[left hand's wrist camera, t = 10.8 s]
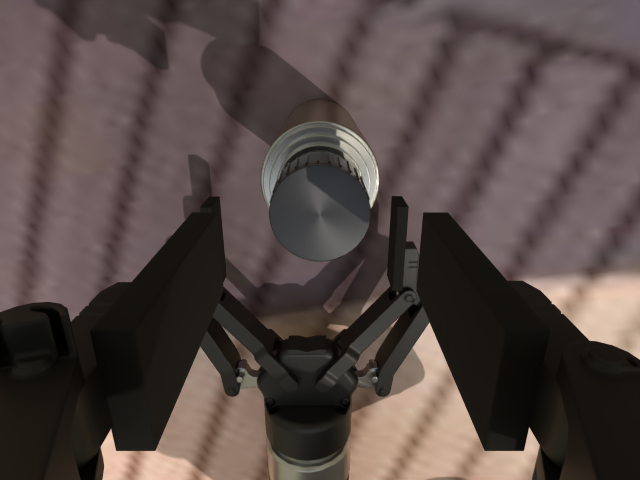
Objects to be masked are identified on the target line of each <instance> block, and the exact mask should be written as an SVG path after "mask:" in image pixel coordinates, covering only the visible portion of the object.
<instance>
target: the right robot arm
mask: <svg viewBox="0 0 640 480" xmlns="http://www.w3.org/2000/svg"><path fill="white" fill-rule="evenodd" d="M200 209H201V213H217V222H218V233H219V244H220V256H221V267H222V278H223V282H224V280H225V277H226V265H225V253H224V242H223V231H222V219H221V208H220V197H209V198H208V199H207V200H206V201H205V203H204V204H203V205H202V206H201V207H200ZM407 221H408V205H407V204H406V202H405V201H404V199H403V197H402V196H392V201H391V218H390V235H389V252H388V269H387V276H388V279H389V282H390V285H391V286H390V287H389V288H388V289H387V290H386V291H385V292H384V293H383V294H382V295H381V296H380V297H379V298H378V299H377V300H376V301H375V302H374V303H373V304H372V305H371V306H370V307H369V308H368V309H367V310H366V311H365V312H364V313H363V314H362V315H361V316H360V317H359V318H358V319H357V320H356V321H355V322H354V323H353V324H352V325H351V326H350V327H349V328H348V329H344V330H342V331H341V332H340V333H339V334H338V335H337V336H336V337H335V338H334V339H333V340H330V339H327V338H326V336H313V337H309V338H306V337H302V336H289V338H288V339H285V340H282V339H281V338H280V337H279V336H278V335H277V334H276V333H275V332H274V331H273V330H272V329H267V328H266V327H265V326H264V325H263V324H262V323H261V322H260V321H259V320H258V319H257V318H256V317H255V316H253V315H252V314H251V313H250V312H249V311H248V310H247V309H246V308H245V307H244V306H243V305H242V304H241V303H240V302H239V301H238V300H237V299H236V298H235V297H234V296H233V295H232V294H231V293H229V292H228V291H227V290H226V289H225V288H224V287H223V289H224V291H223V294H222V296H221V298H220V301H219V303H218V305H217V308H216V310H215V312H214V315H213V317H212V319H211V322H210V324H209V326H208V329H207V331H206V333H205V336H204V338H203V340H202V343H201V345H200V346H201V348H202V349H203V351H204V352H205V353H206V355H207V356H208V358H209V359H210V361H211V362H212V363H213V365H214V366H215V368H216V369H217V370H218V372H219V373H220V375H221V378H222V382H223V386H224V390H225V393H226V394H227V395H228V396H232V397H234V396H236V395H238V393H239V391H240V388H250V387H258V388H259V389H260V390H261V392H262V393H263V396H264V405H265V422H266V434H267V454H268V467H269V480H349V470H350V431H351V404H352V394H353V392H354V391H355V389H356V388H357V387H364V388H375V390H376V394H377V395H378V396H381V397H384V396H387V395H388V394H389V393H390V390H391V385H392V381H393V376H394V374H395V372H396V371H397V369H398V368H399V366H400V365H401V363H402V362H403V361H404V359H405V358H406V356H407V355H408V353H409V352H410V350H411V349H412V347H413V346H414V344H415V343H416V341H417V340H418V338H419V337H420V335H421V334H422V333H423V331H424V330H425V328H426V327H427V325H428V324H429V319H428V317H427V315H426V312H425V310H424V308H423V305H422V303H421V301H420V298H419V296H418V294H417V291H416V289H417V272H418V261H419V254H418V251H417V248H416V246H415V244H414V242H406V235H407ZM398 318H399V319H398ZM397 319H398V320H397ZM396 320H397V322H396V323H395V325H394V326H393V328H392V329H391V331H390V333H389V334H388V336H387V337H386V339H385V340H384V342H383V343H382V345H381V346H380V348H379V350H378V352H377V354H376V357H375V360H373V359H371V360H369V363H368V364H367V365H366V367H365V368H364V369H363V370H360V371H357V369H356V367H355V366H354V364H355V363H356V362H357V361H358V359H359V356H360V354H361V353H362V352H363V351H364V350H365V349H366V348H367V347H368V346H369V345H371V344H372V343H373V342H374V341H375V340H376V339H377V338H378V337H379V336H380V335H381V334H382V333H383V332H384V331H385V330H386V329H387V328H388V327H389V326H390V325H391V324H392V323H394V322H395V321H396ZM220 324H221V325H222V326H223V327H224V328H225V329H226V330H228V331H229V332H230V333H231V334H232V335H233V336H234V337H235V338H236V339H237V340H238V341H239V342H241V343H242V344H243V345H244V346H245V347H246V348H247V349H248V350H249V351H250V352H251V353H252V354H253V355H254V357H255V360H256V362H257V363H258V364H259V365H260V366H261V367H260V368H259V370H253V369H251V368H250V366H249V364H248V363H247V360H245V359H242V360H241V357H240V354H239V352H238V350H237V349H236V347H235V346H234V344H233V343H232V341H231V340H230V338H229V337H228V335H227V334H226V332H225V331H224V329H223V328H222V326H221V325H220Z"/></svg>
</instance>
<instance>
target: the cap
mask: <svg viewBox="0 0 640 480" xmlns="http://www.w3.org/2000/svg"><path fill="white" fill-rule="evenodd" d="M272 193H273V194H272V196H271V199H270V202H269V203H270V208H269V218H270V224H271V227H272V230H273V232H274V234H275V236H276V238H277V239H278V241H279V242H280V243H281V244H282V246H283V247H285V248H286V249H287V250H288V251H289V252H291V253H292V254H294V255H296V256H298V257H300V258H303V259H306V260H311V261H329V260H334V259H337V258H340V257H342V256H344V255H346V254H348V253H349V252H351V251H352V250H353V249H354V248H355V247H357V246H358V244H359V243H360V242H361V241H362V239H363V238H364V236H365V234H366V232H367V230H368V227H369V224H370V218H371V207H370V203H369V200H370V198H369V195H368V192H367V190H366V187H365V184H364V181H363V179H362V176H359V174H358V172H357V169H356V168H354V167H353V166H352V165H351V164H350V163H349V161H346V160H344V159H342V158H341V157H340V156H339V155H338V156H336V155H333V154H330V153H329V152H328V153H319V152H317V153H311V154H309V153H307V155H304V156H302V157H297V159H296V160H294V161H293V162H292V163H288V166H287V167H286V168H285V170H284V171H283V170H282V171H281V174H280V177H279V179H277V181H276V183H275V186H274V189H273V191H272Z"/></svg>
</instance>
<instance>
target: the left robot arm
mask: <svg viewBox="0 0 640 480" xmlns="http://www.w3.org/2000/svg"><path fill="white" fill-rule="evenodd" d="M223 291H224V289H223V278H222V267H221V256H220V244H219V233H218V222H217V213H191V215H190V216H189V217H188V218H187V219H186V220H185V221H184V223H183V224H182V225H181V226H180V227H179V228H178V229H177V231H176V232H175V233H174V234H173V235H172V236H171V238H170V239H169V240H168V241H167V242H166V243H165V244H164V246H163V247H162V248H161V249H160V250H159V251H158V252H157V254H156V255H155V256H154V257H153V258H152V259H151V261H150V262H149V263H148V264H147V265H146V266H145V267H144V269H143V270H142V271H141V272H140V273H139V274H138V275H137V277H136V278H135V279H134V280H133V281H132V282H117V283H116V284H114V285H112V286H110V287H108V288H107V289H105V290H103V291H101V292H100V293H99V294H98V295H97V296H96V297H95V298H94V299H93V300H92V301H91V302H90V303H89V306H86V307H85V308H84V309H83V310H82V311H81V312H80V313H79V314H80V315H79V316H76V317H75V318H74V319H73V320H72V321H71V322H70V317H69V313H68V309H67V308H66V307H65V306H63V305H62V304H58V303H52V302H40V303H31V304H26V305H21V306H17V307H14V308H11V309H8V310H5V311H3V312H0V480H102V478H103V471H104V462H103V456H102V452H101V445H102V443H103V442H104V440H105V438H106V436H107V435H108V433H109V431H110V429H112V434H113V438H114V443H115V447H116V451H155V450H156V448H157V446H158V443H159V441H160V439H161V436H162V434H163V432H164V429H165V427H166V425H167V422H168V420H169V418H170V415H171V413H172V411H173V408H174V406H175V404H176V401H177V399H178V397H179V394H180V392H181V389H182V387H183V385H184V382H185V380H186V378H187V375H188V373H189V371H190V368H191V366H192V364H193V361H194V359H195V357H196V354H197V352H198V350H199V347H200V345H201V343H202V340H203V338H204V336H205V333H206V331H207V329H208V326H209V324H210V322H211V319H212V317H213V315H214V312H215V310H216V308H217V305H218V303H219V301H220V298H221V296H222V294H223ZM416 291H417V294H418V296H419V298H420V301H421V303H422V305H423V308H424V310H425V312H426V315H427V317H428V319H429V322H430V324H431V326H432V329H433V331H434V333H435V336H436V338H437V340H438V343H439V345H440V347H441V350H442V352H443V354H444V357H445V359H446V361H447V364H448V366H449V368H450V371H451V373H452V375H453V378H454V380H455V382H456V385H457V387H458V389H459V392H460V394H461V397H462V399H463V401H464V404H465V406H466V408H467V411H468V413H469V415H470V418H471V420H472V422H473V425H474V427H475V429H476V432H477V434H478V436H479V439H480V441H481V443H482V446H483V448H484V450H485V451H524V447H525V443H526V438H527V434H528V429H529V427H530V429H531V431H532V432H533V434H534V436H535V438H536V439H537V441H538V443H539V444H540V447H539V452H538V456H537V460H536V464H535V468H534V473H533V477H532V480H640V360H639V359H638V358H636V357H635V356H633V355H632V354H630V353H629V352H627V351H624V350H622V349H620V348H617V347H615V346H612V345H609V344H605V343H601V342H597V341H589V340H588V339H587V338H586V337H585V336H584V335H583V334H582V333H581V332H580V331H579V330H578V329H577V328H576V326H575V325H574V324H573V323H572V322H571V321H570V320H569V319H568V318H567V317H566V316H565V315H564V314H561V311H560V310H559V309H558V308H557V307H556V306H555V305H554V304H552V302H551V301H550V300H549V299H548V298H547V297H546V296H545V295H544V294H543V293H542V292H541V291H540V290H538V289H537V288H535V287H533V286H531V285H529V284H527V283H526V282H524V281H507V280H506V279H505V278H504V277H503V275H502V274H501V273H500V272H499V271H498V270H497V269H496V267H495V266H494V265H493V264H492V263H491V262H490V261H489V259H488V258H487V257H486V256H485V255H484V254H483V252H482V251H481V250H480V249H479V248H478V247H477V246H476V244H475V243H474V242H473V241H472V240H471V239H470V238H469V236H468V235H467V234H466V233H465V232H464V231H463V229H462V228H461V227H460V226H459V225H458V224H457V223H456V221H455V220H454V219H453V218H452V217H451V216H450V215H449V213H423V222H422V233H421V244H420V256H419V267H418V278H417V289H416Z"/></svg>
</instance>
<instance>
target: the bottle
mask: <svg viewBox="0 0 640 480" xmlns="http://www.w3.org/2000/svg"><path fill="white" fill-rule="evenodd" d="M317 152H319V153H328V152H329V153H330V154H333V155H336V156H338V155H339V156H340V157H341V158H342V159H344V160H346V161H349V163H350V164H351V165H352V166H353V167H354V168H356V169H357V172H358V174H359V176H362V179H363V181H364V184H365V187H366V190H367V192H368V195H369V198H370V200H369V203H370V207H371V208H372V206H373V204H374V202H375V200H376V197H377V194H378V189H379V179H380V178H379V169H378V164H377V161H376V158H375V155H374V154H373V152H372V150H371V148H370V146H369V145H368V143H367V141H366V140H365V138H364V137H363V135H362V133H361V132H360V130H359V128H358V127H357V125H356V124H355V122H354V120H353V119H352V117H351V116H350V114H349V113H348V112H347V111H346V110H345V109H344V108H343V107H342V106H340V105H339V104H337V103H335V102H333V101H329V100H324V99H316V100H311V101H307V102H305V103H303V104H301V105H299V106H298V107H297V108H296V109H295V110H294V111H293V112H292V113H291V114H290V116H289V117H288V119H287V120H286V122H285V124H284V125H283V127H282V128H281V130H280V132H279V133H278V135H277V137H276V138H275V140H274V141H273V143H272V145H271V146H270V148H269V150H268V152H267V153H266V155H265V158H264V161H263V164H262V168H261V177H260V179H261V189H262V194H263V197H264V200H265V202H266V204H267V206H268V208H270V203H269V202H270V199H271V196H272V194H273V193H272V191H273V189H274V186H275V183H276V181H277V179H279V177H280V174H281V171H282V170H283V171H284V170H285V168H286V167H287V166H288V163H292V162H293V161H294V160H296V159H297V157H302V156H304V155H307V153H309V154H311V153H317Z"/></svg>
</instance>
